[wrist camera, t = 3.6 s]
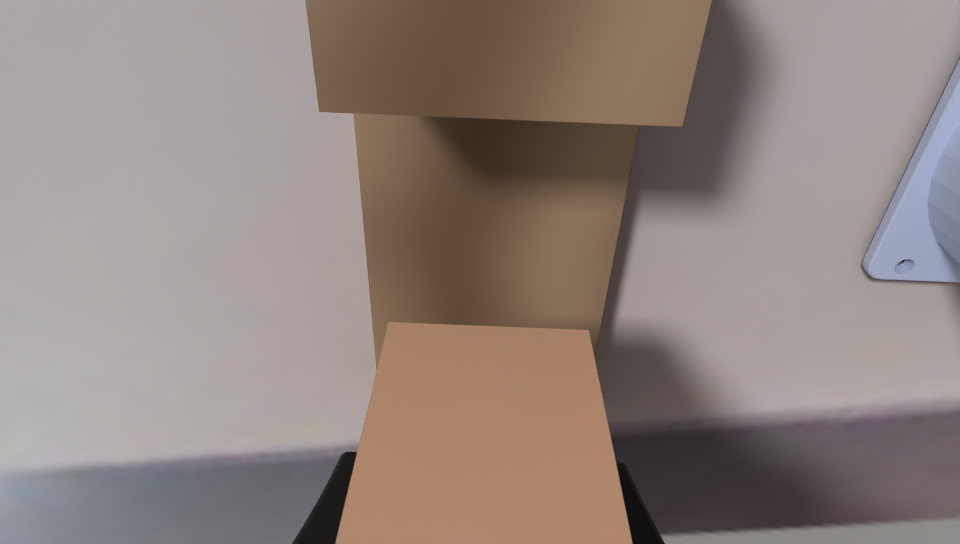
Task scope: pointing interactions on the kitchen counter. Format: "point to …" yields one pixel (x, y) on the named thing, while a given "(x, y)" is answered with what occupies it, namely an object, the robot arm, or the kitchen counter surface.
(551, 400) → the block
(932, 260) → the robot arm
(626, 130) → the rig
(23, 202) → the kitchen counter surface
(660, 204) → the kitchen counter surface
